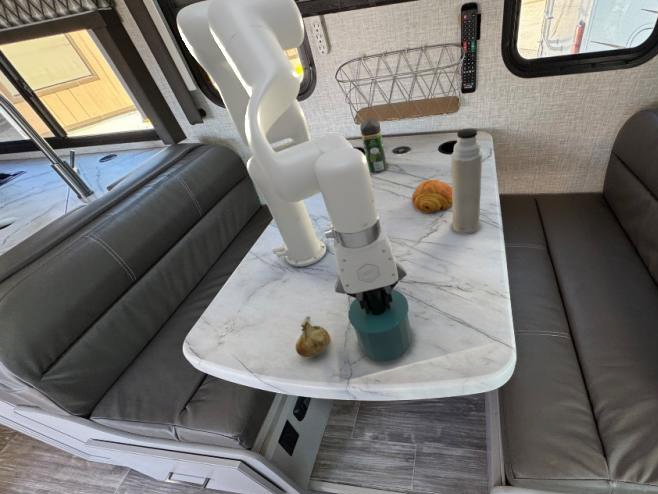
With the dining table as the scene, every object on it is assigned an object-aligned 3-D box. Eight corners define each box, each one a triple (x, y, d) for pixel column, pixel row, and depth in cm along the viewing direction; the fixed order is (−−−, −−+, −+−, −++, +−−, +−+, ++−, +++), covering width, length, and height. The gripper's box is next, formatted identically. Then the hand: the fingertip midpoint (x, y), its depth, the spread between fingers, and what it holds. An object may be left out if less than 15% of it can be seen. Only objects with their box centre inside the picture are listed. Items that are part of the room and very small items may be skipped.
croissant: (409, 218, 115) (404, 198, 109) (421, 190, 123) (417, 170, 117) (450, 219, 110) (448, 199, 104) (460, 190, 118) (458, 170, 112)
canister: (365, 368, 71) (354, 338, 64) (358, 329, 79) (348, 298, 72) (416, 355, 72) (411, 323, 65) (405, 317, 80) (399, 285, 73)
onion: (292, 356, 76) (279, 334, 71) (316, 332, 80) (306, 309, 75) (316, 370, 73) (304, 348, 67) (340, 344, 77) (330, 321, 71)
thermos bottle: (447, 229, 104) (444, 134, 84) (461, 217, 107) (461, 123, 88) (470, 236, 99) (472, 139, 80) (484, 223, 103) (489, 127, 84)
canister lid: (352, 342, 64) (343, 318, 59) (346, 299, 73) (338, 274, 68) (415, 327, 65) (411, 301, 60) (401, 286, 73) (397, 260, 68)
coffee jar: (368, 164, 146) (359, 118, 133) (386, 162, 145) (379, 115, 132) (368, 174, 139) (358, 127, 126) (387, 171, 138) (379, 123, 125)
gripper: (307, 254, 52) (338, 330, 64) (412, 230, 52) (421, 309, 65) (307, 229, 57) (336, 304, 70) (402, 207, 58) (413, 285, 71)
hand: (377, 306), depth 67 cm, fingers closed on canister lid, 3 cm apart
